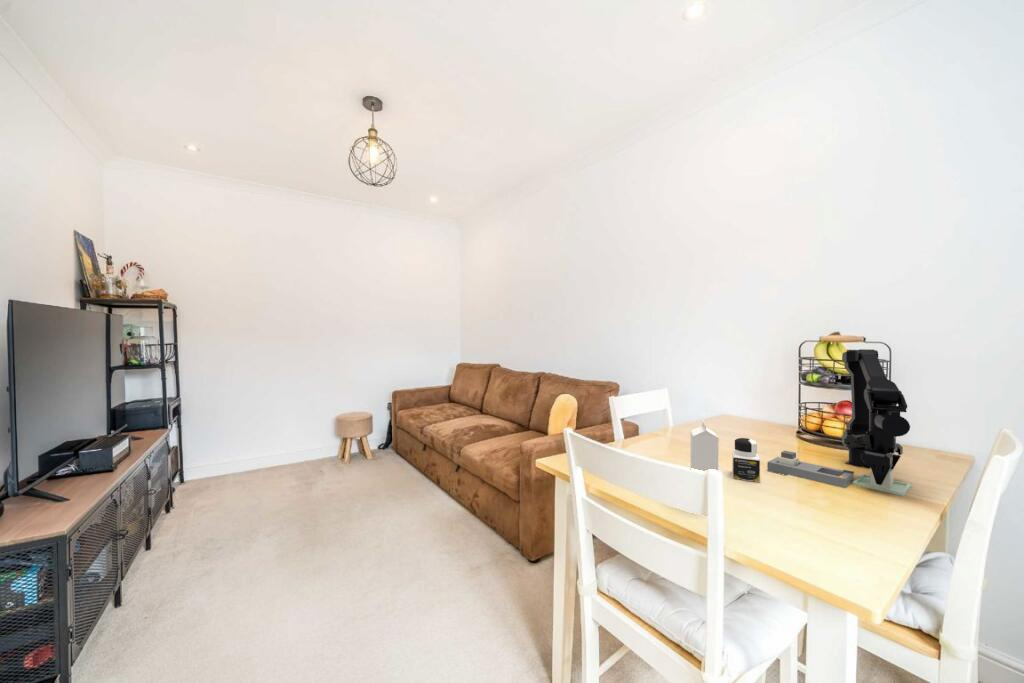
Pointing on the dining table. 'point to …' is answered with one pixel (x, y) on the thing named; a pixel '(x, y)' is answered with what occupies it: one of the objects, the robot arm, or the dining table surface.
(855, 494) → the dining table surface
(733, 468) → the medicine bottle
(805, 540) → the dining table surface
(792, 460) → the twin plug
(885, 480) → the plug
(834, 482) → the grey socket board
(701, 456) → the milk
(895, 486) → the parts tray
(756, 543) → the dining table surface
